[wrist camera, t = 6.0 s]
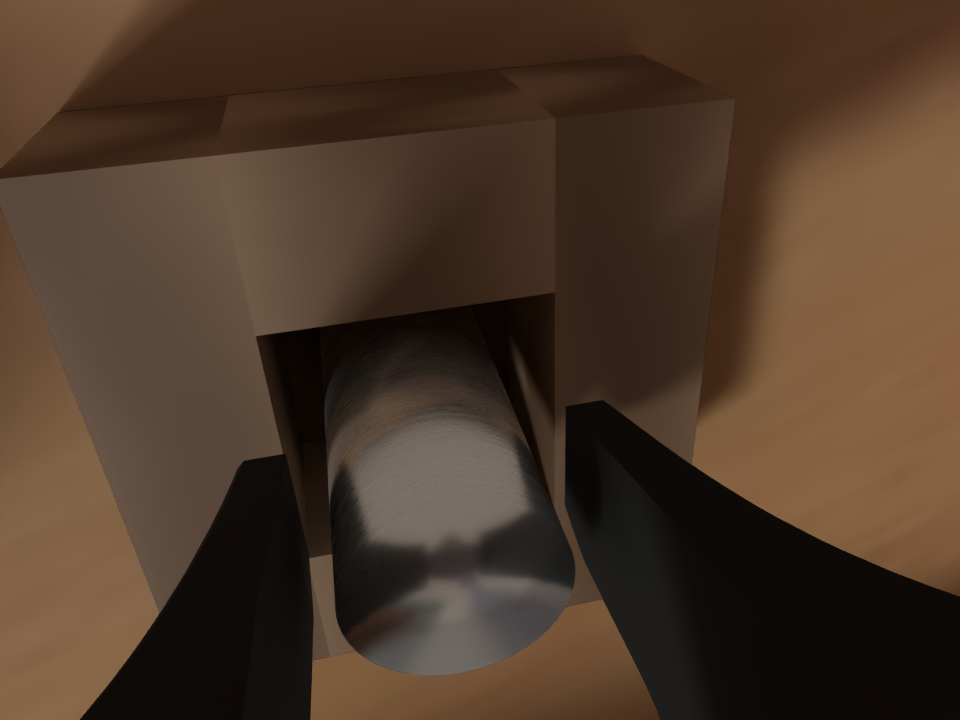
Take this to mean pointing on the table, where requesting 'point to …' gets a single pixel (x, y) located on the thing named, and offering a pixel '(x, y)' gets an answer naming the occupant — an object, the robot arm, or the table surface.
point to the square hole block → (367, 267)
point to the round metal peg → (434, 499)
